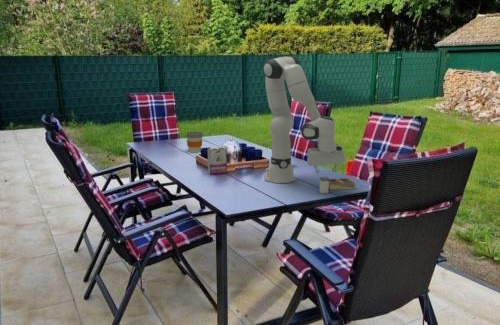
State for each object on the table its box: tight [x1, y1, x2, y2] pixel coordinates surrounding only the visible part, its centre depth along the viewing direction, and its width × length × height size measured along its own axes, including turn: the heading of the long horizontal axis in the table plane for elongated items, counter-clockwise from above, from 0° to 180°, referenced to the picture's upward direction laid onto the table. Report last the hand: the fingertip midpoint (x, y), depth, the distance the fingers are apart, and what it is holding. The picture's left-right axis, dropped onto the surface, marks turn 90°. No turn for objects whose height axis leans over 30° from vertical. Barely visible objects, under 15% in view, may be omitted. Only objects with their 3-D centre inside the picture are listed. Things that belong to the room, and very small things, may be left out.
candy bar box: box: [207, 146, 228, 176], centre depth 273 cm, size 11×5×16 cm, turn 112°
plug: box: [319, 176, 330, 194], centre depth 237 cm, size 4×4×8 cm
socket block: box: [328, 177, 356, 191], centre depth 246 cm, size 9×14×4 cm, turn 101°
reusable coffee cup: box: [185, 131, 204, 154], centre depth 339 cm, size 13×13×15 cm
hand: (325, 172), depth 235 cm, fingers open, 8 cm apart
